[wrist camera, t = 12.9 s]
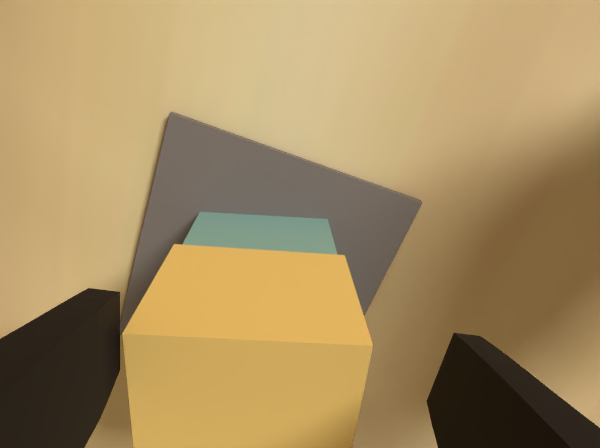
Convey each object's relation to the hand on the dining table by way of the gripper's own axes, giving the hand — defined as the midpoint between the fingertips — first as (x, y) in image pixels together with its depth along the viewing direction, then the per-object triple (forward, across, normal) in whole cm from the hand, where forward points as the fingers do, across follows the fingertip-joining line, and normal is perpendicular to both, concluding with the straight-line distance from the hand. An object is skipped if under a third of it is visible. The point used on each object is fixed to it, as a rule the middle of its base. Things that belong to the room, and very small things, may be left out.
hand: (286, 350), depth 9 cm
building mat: (+8, +1, +2) cm, 8 cm away
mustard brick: (+4, +1, +2) cm, 4 cm away
